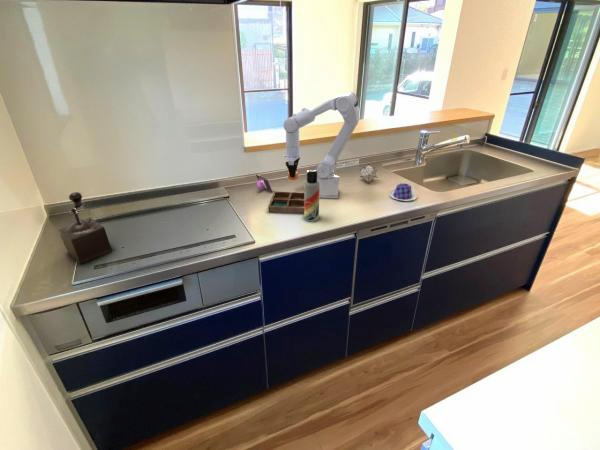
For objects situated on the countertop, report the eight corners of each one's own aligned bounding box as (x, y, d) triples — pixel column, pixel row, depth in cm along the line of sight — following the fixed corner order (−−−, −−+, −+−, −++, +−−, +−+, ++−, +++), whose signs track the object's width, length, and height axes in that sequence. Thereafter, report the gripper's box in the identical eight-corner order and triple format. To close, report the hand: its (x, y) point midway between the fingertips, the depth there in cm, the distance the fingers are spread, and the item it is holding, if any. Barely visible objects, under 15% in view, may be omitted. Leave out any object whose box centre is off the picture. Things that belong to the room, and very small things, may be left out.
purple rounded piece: (268, 179, 152) (257, 173, 158) (259, 185, 150) (248, 179, 156) (273, 190, 157) (262, 184, 163) (264, 197, 155) (253, 190, 161)
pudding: (404, 189, 159) (406, 178, 157) (422, 199, 150) (424, 188, 147) (383, 193, 155) (384, 182, 152) (399, 204, 145) (401, 193, 143)
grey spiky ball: (365, 186, 171) (365, 167, 172) (380, 184, 165) (381, 164, 166) (355, 182, 164) (356, 162, 165) (371, 180, 158) (372, 159, 160)
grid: (307, 198, 151) (308, 192, 150) (305, 214, 138) (305, 208, 137) (274, 196, 152) (274, 191, 151) (268, 212, 139) (268, 206, 138)
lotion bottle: (308, 223, 132) (309, 173, 122) (301, 216, 136) (301, 168, 126) (321, 219, 134) (323, 171, 124) (314, 213, 138) (315, 166, 128)
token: (298, 176, 158) (298, 170, 157) (297, 180, 154) (297, 174, 153) (288, 175, 159) (288, 170, 158) (287, 179, 155) (287, 174, 153)
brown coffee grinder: (115, 249, 116) (99, 201, 107) (80, 265, 108) (60, 214, 100) (94, 234, 124) (78, 189, 115) (60, 248, 117) (40, 200, 108)
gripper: (285, 140, 156) (286, 168, 162) (281, 150, 143) (282, 180, 150) (301, 140, 155) (301, 169, 162) (298, 150, 143) (298, 181, 149)
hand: (293, 174), depth 156 cm, fingers closed on token, 5 cm apart
